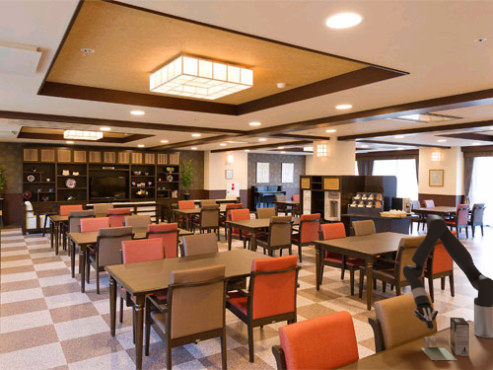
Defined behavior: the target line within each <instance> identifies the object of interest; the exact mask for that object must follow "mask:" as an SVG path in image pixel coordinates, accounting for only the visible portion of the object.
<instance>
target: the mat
mask: <svg viewBox="0 0 493 370" xmlns="http://www.w3.org/2000/svg"><path fill="white" fill-rule="evenodd" d="M420 350H422V351H423V353H424V354H425V355H426V356H428V358H429V359H430V360H431V361H432V360H435V361H437V360H450V361H458V359H457V358H456V357H454V355H452V354H451V352H449V351H448V350H447V349H446V347H438V348H426V347H420ZM435 361H434V362H435Z"/></svg>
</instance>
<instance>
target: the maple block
mask: <svg viewBox="0 0 493 370" xmlns="http://www.w3.org/2000/svg"><path fill="white" fill-rule="evenodd" d="M423 341H424V346H425V347H424V348H449V347H450V342H449V339H448V335H431V336H424V337H423Z"/></svg>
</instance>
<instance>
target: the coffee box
mask: <svg viewBox="0 0 493 370" xmlns="http://www.w3.org/2000/svg"><path fill="white" fill-rule="evenodd" d="M449 320H450V321H449V326H450V327H449V328H450V329H449V331H450V333H449V335H450V336H449V340H450V342H449V347H450V348H451V350H452V352H453V353H454V355H455V356H461V357H462V356H464V357H469V356H470V323H469V322H467V320H466V319H465V318H464V317H454V316H453V317H452V316H451V317H449Z"/></svg>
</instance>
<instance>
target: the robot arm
mask: <svg viewBox="0 0 493 370" xmlns="http://www.w3.org/2000/svg"><path fill="white" fill-rule="evenodd" d="M426 225H427V228H428V229H427V233H426V235H425V237H424V239H423V240H422V242H420V243H419V245H418V246H417V248H416V249H415V252H414V254H413V256H412V257H411V261H412V262H413V263H414V264H415V265H410V264H406V265H404V266H403V267H402V274H403V276H404V279H405V281H407V283H408V285H409V287H410V289H411V293H412V294H411V295H412V297H413V300H414V304H415V307H416V310H414V311H413V315H414V316H415V317H416V318H417V319H419V321H421V322H422V323H423V322H424V323H425V325H426V327H427V329H428V330H433V329H434V323H433V322H434V321H435V319H436V318H437V315H438V314H439V311H438V310H435V309H434V308H433V307H432V304H431V301H430V298H429V295H428V293H427V290H426V288H425V285H424V282H423V281H422V280H421V279H420V278H421V277H422V276H423V273H424V267H425V263H426V261H427V260H428V258H429V255H430V253H431V251H432V250H433V249H434V246H435V245H436V243H437V242H438V240H440V242H441V244H442V246H443V248H444V249H445V251H446V252H447V253H448V255H449V257H450V259H452V261H453V262H454V263H455V264H456V265H457V266H458V268H459V269H460V270H461V271H462V272H463V274H464V275H465V276H466V278H467V280H468V282H469V283H470V285H471V286H472V288H473V289H475V290H476V291H477V296H475V297H474V298H473V334H474V335H475V337H479V338H483V339H492V338H493V279H492V278H490V277H488V276H486V275H484V274H483V273H482V272H481V271H480V270H479V269H478V267H476V265H475V263H474V260H473V257H472V255H471V253H470V252H469V250H468V249H467V248H466V246H465V245H464V244H463V243H462V242H461V241H460V239H458V237H456V236H455V234H454V233H452V231H451V230H450V228H449V227H448V225H447V222H446V221H445V220H444V218H443V217H442V216H441V215H438V214H431V215H429V216H428V218H427V220H426Z"/></svg>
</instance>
